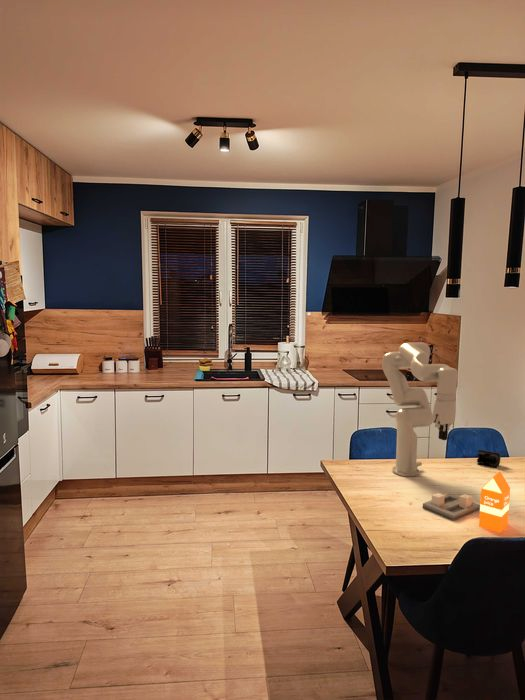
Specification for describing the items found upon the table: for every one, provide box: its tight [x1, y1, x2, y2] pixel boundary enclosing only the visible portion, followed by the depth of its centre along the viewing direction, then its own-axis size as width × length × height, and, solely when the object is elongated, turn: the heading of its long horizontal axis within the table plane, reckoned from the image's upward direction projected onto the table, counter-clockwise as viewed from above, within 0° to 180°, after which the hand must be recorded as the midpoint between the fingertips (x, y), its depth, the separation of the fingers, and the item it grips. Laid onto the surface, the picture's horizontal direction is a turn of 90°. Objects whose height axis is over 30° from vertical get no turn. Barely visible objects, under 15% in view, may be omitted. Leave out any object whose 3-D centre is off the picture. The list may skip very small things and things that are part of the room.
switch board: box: [422, 493, 480, 522], centre depth 204 cm, size 18×14×2 cm
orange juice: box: [478, 471, 511, 533], centre depth 189 cm, size 8×9×20 cm
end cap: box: [476, 449, 502, 469], centre depth 258 cm, size 10×7×7 cm
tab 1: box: [431, 492, 445, 506], centre depth 205 cm, size 4×3×4 cm
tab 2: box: [458, 493, 473, 509], centre depth 204 cm, size 4×3×4 cm
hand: (442, 439), depth 215 cm, fingers closed
